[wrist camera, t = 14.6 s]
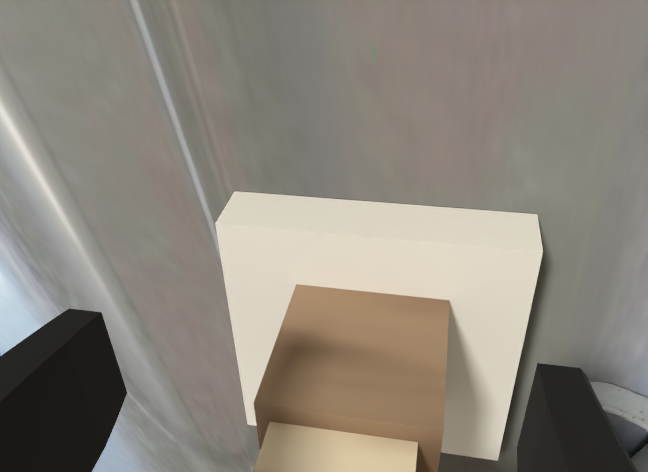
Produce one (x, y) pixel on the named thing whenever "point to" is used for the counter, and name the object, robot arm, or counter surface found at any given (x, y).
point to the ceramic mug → (626, 412)
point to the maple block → (332, 451)
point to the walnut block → (360, 367)
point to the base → (391, 287)
